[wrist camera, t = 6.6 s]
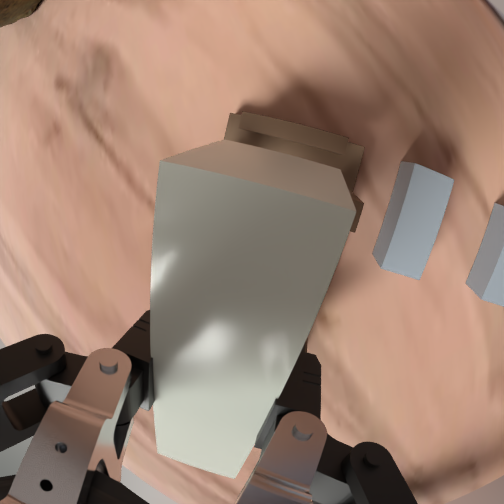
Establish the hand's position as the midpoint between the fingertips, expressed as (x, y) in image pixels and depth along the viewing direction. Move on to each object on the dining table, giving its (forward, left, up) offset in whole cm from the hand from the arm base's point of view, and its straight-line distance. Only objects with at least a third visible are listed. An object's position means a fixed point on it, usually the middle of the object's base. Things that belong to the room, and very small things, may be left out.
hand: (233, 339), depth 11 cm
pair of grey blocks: (+5, -13, -12) cm, 19 cm away
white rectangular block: (+1, 0, -1) cm, 1 cm away
